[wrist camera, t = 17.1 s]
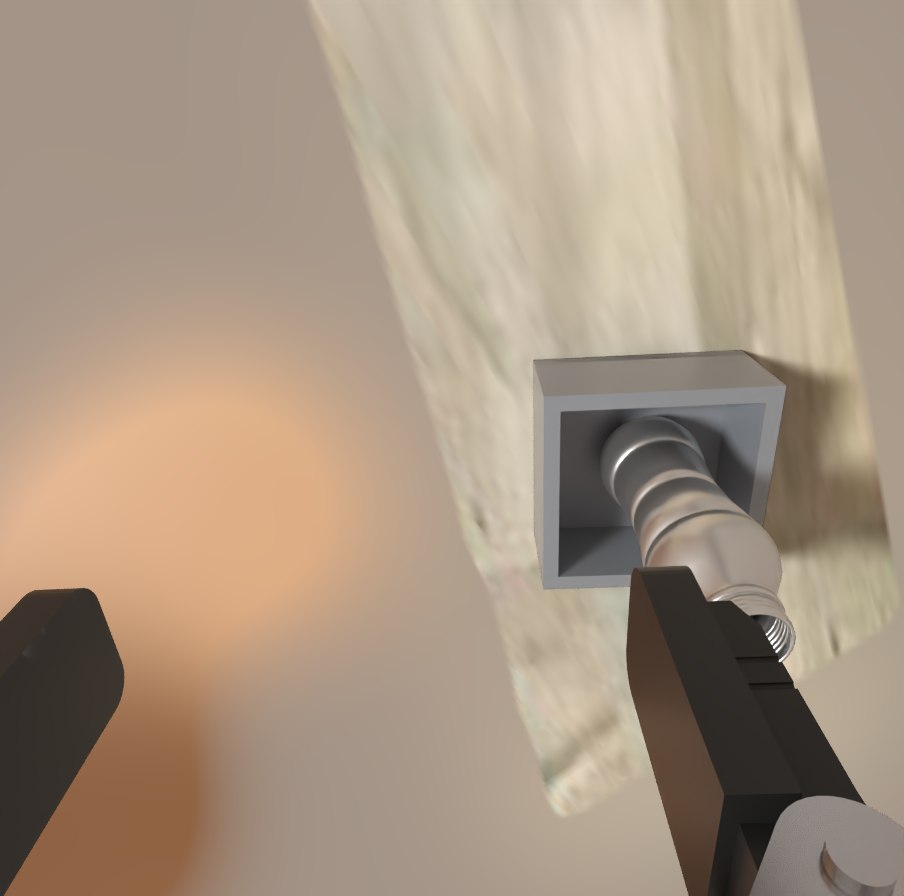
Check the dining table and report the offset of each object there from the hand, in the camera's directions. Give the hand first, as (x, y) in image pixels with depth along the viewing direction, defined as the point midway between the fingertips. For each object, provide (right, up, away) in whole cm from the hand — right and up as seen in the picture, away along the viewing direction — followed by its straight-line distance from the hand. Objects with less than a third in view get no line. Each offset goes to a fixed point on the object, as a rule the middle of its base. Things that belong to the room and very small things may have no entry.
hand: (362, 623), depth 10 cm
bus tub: (+14, +3, +38) cm, 41 cm away
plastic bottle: (+15, +3, +37) cm, 40 cm away
